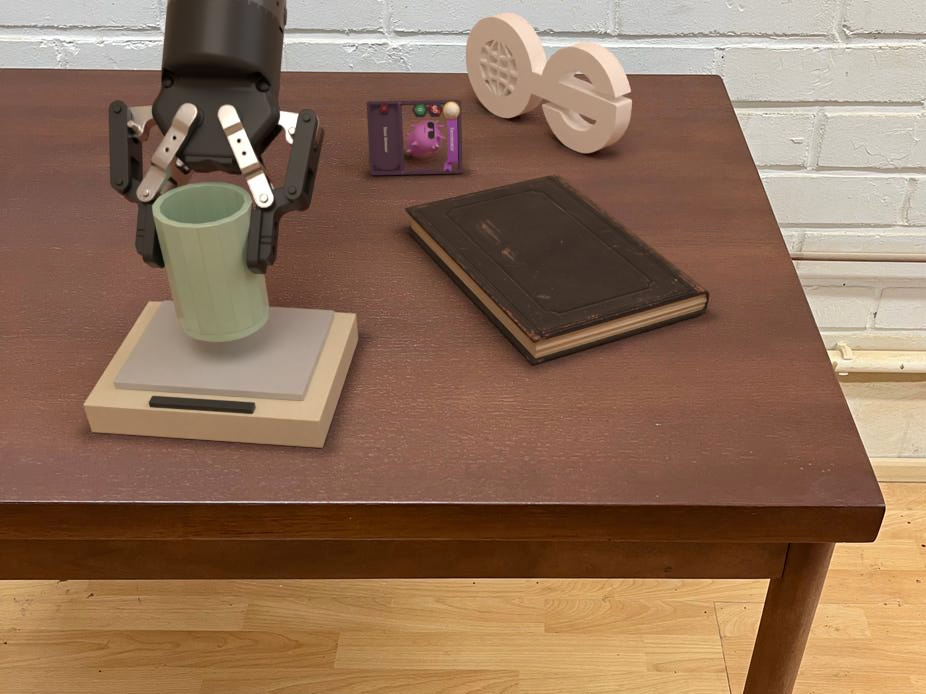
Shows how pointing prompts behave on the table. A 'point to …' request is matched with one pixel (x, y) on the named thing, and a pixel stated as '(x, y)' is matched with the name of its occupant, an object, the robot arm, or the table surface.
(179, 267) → the cup
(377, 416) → the table surface
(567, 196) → the hardcover book
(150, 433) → the scale
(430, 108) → the game card
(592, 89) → the beige logo cutout
